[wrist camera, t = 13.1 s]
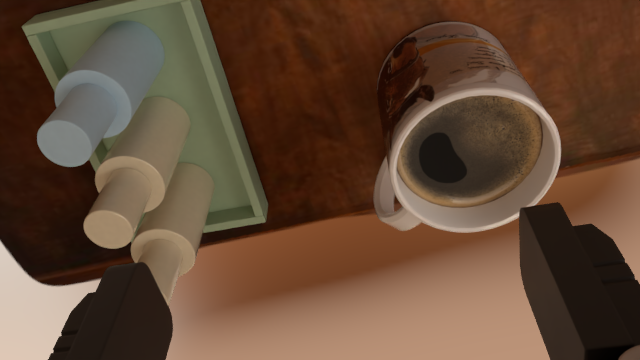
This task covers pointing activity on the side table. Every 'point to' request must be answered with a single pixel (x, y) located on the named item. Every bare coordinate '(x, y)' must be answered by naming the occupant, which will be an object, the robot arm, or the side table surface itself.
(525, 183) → the mug
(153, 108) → the cream bottle
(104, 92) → the blue bottle
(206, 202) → the cream bottle
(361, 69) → the side table surface
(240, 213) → the tray
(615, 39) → the side table surface
